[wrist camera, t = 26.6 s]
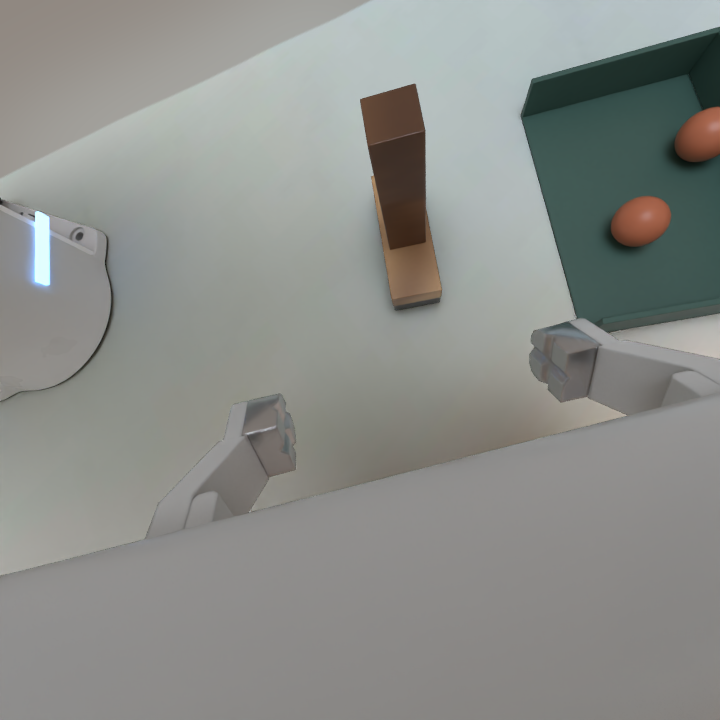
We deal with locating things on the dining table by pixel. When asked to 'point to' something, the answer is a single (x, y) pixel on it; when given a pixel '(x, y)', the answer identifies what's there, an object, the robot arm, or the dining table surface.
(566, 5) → the dining table surface
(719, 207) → the dustpan
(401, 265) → the brush
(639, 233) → the ball
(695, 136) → the ball
